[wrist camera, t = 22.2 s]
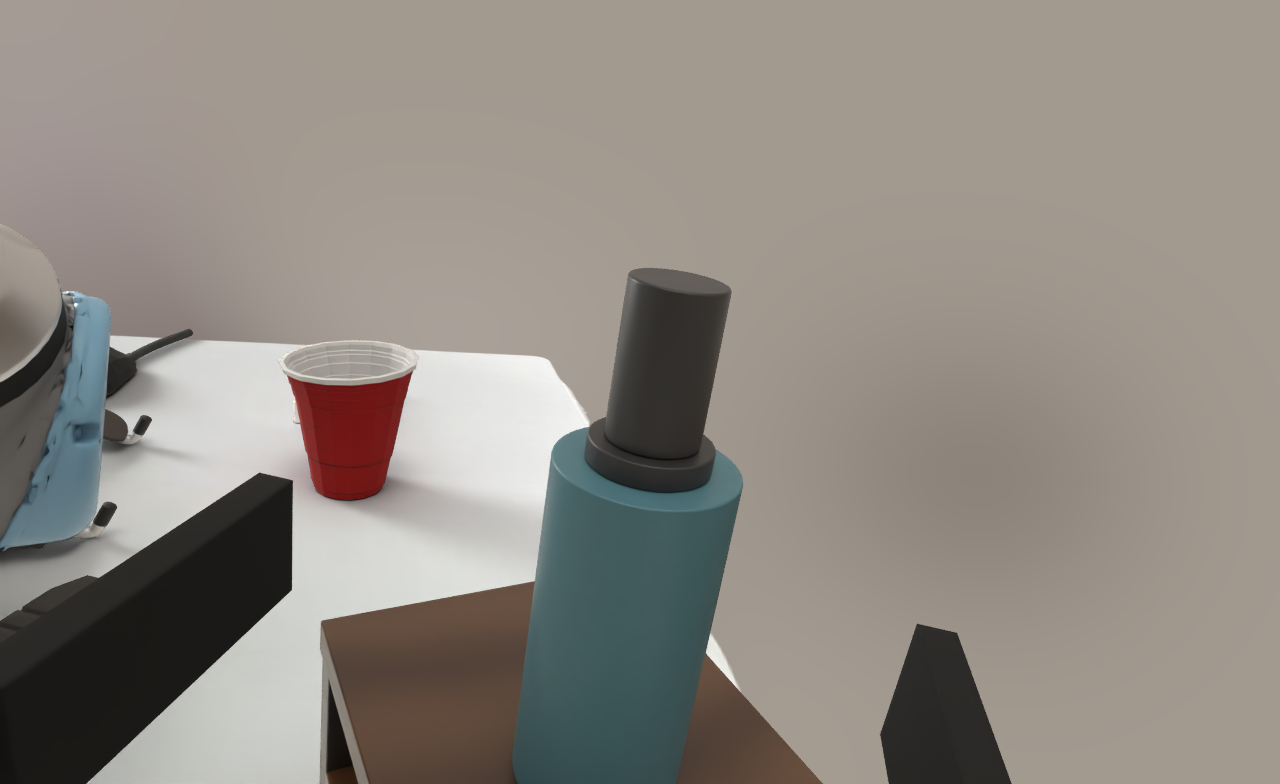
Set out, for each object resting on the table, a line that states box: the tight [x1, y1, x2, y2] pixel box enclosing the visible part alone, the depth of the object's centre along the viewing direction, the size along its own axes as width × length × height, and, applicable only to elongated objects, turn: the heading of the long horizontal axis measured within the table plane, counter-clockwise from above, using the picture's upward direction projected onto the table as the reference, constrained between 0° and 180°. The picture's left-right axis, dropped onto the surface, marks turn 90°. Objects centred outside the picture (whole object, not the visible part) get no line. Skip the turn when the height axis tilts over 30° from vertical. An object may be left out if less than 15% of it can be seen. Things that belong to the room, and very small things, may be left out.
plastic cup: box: [278, 340, 419, 500], centre depth 66 cm, size 11×11×12 cm
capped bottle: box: [512, 268, 743, 784], centre depth 25 cm, size 6×6×18 cm
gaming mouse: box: [106, 346, 137, 395], centre depth 79 cm, size 6×15×4 cm, turn 9°
